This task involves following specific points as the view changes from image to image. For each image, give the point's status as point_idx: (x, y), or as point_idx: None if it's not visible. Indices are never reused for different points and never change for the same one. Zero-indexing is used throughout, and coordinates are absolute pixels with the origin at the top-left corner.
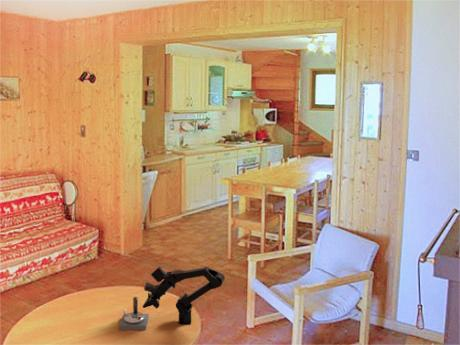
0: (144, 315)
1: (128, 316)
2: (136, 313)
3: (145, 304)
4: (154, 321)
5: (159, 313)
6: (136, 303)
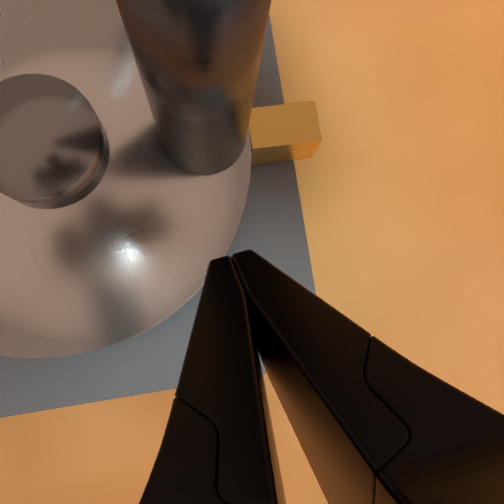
0: None
1: (38, 40)
2: (84, 167)
3: (190, 367)
4: None
5: None
6: (137, 27)
